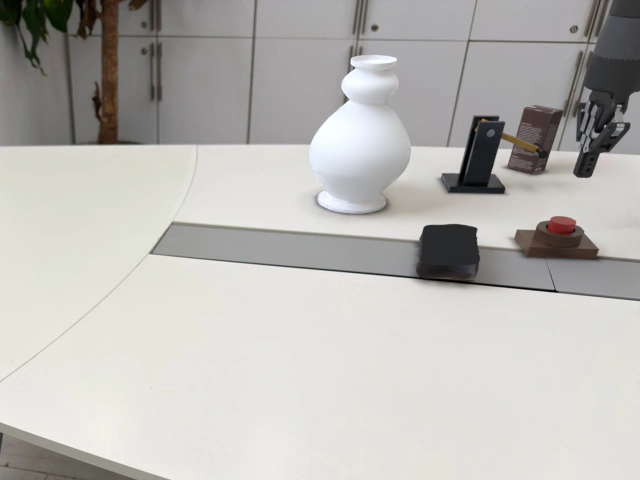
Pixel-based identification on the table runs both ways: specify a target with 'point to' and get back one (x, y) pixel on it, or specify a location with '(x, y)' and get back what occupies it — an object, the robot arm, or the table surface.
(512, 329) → the table surface
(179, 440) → the table surface
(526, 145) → the switch lever
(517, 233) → the button block
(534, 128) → the box
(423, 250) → the black sponge
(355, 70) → the decorative vase
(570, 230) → the red button
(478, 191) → the switch bracket
